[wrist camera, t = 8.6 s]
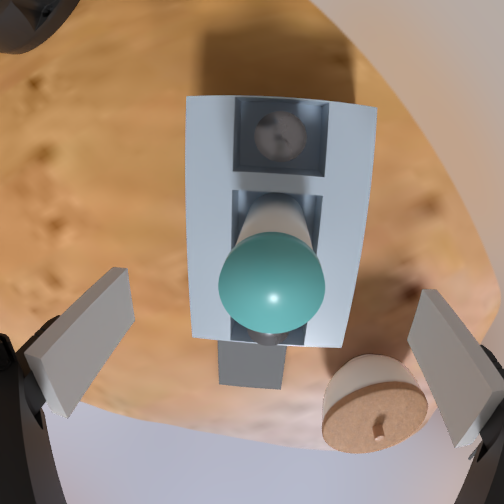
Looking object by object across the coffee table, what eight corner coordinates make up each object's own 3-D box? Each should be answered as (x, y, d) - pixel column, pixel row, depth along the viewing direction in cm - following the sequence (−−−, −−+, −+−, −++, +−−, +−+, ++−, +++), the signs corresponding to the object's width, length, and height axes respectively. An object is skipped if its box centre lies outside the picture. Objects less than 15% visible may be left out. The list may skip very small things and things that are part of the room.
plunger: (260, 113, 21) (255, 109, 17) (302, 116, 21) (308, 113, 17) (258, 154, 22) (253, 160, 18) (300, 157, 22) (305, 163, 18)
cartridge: (245, 188, 24) (217, 235, 13) (309, 192, 23) (332, 243, 13) (243, 247, 25) (218, 329, 15) (304, 252, 25) (317, 336, 15)
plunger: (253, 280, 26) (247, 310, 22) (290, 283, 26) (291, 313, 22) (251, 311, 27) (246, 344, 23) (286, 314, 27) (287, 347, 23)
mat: (218, 334, 32) (217, 336, 32) (287, 339, 31) (287, 342, 31) (219, 381, 35) (219, 384, 34) (280, 387, 34) (280, 389, 34)
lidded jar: (418, 334, 30) (449, 394, 21) (395, 400, 34) (412, 458, 25) (322, 338, 31) (332, 407, 22) (313, 406, 35) (316, 469, 26)
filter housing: (207, 300, 30) (192, 337, 25) (207, 103, 24) (186, 96, 18) (332, 308, 30) (341, 347, 24) (355, 111, 23) (377, 107, 17)
